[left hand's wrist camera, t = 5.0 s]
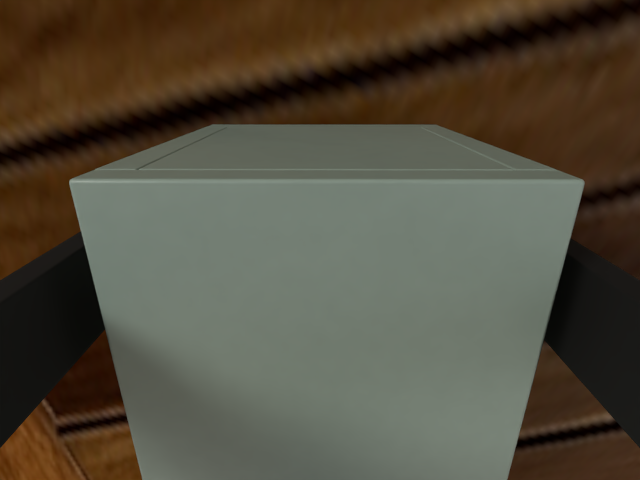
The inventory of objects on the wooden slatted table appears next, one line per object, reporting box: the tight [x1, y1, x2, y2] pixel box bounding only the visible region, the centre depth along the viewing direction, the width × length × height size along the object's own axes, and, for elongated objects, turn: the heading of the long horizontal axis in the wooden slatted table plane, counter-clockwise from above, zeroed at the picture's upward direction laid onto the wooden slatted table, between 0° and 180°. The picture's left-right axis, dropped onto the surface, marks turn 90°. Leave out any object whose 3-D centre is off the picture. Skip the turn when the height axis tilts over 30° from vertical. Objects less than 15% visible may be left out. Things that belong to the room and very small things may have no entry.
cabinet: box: [69, 125, 584, 480], centre depth 16 cm, size 16×10×11 cm, turn 0°
